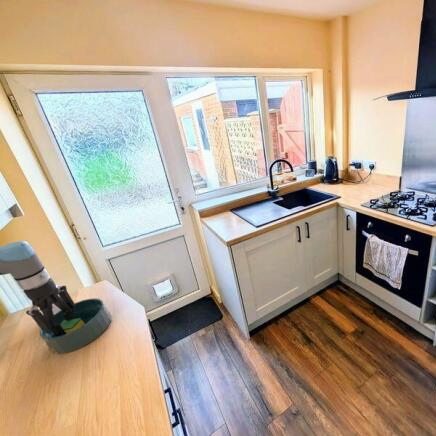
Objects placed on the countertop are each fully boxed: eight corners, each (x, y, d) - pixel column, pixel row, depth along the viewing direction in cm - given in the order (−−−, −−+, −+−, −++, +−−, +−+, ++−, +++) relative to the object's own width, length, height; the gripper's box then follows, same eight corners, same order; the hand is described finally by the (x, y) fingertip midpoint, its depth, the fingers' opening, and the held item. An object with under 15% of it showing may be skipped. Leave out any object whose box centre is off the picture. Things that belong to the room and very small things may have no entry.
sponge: (60, 337, 92) (53, 330, 91) (69, 327, 97) (64, 320, 95) (77, 335, 92) (71, 327, 90) (86, 325, 96) (80, 317, 94)
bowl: (36, 356, 88) (23, 341, 85) (78, 314, 106) (69, 300, 102) (88, 352, 87) (78, 336, 84) (121, 310, 105) (114, 296, 102)
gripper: (22, 301, 76) (59, 351, 86) (68, 267, 92) (95, 313, 102) (-1, 303, 77) (39, 353, 86) (49, 269, 93) (77, 314, 102)
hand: (69, 331), depth 94 cm, fingers closed on sponge, 4 cm apart
